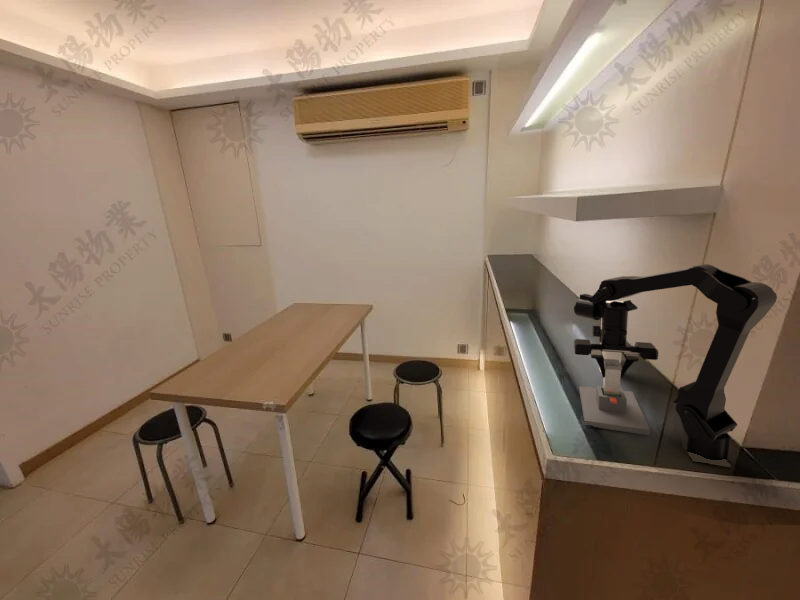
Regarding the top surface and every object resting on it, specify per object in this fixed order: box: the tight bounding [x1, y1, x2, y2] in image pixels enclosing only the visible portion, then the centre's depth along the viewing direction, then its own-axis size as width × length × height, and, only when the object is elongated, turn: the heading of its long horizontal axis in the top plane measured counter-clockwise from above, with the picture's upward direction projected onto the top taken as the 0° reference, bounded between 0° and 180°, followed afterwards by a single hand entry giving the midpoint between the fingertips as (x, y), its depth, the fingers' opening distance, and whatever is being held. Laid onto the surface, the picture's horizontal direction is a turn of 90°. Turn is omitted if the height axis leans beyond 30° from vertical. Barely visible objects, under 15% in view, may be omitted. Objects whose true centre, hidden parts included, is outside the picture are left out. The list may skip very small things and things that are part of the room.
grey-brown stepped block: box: [602, 359, 622, 397], centre depth 90 cm, size 4×5×9 cm
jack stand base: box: [578, 385, 651, 436], centre depth 92 cm, size 14×20×6 cm
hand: (611, 377), depth 90 cm, fingers closed on grey-brown stepped block, 3 cm apart
